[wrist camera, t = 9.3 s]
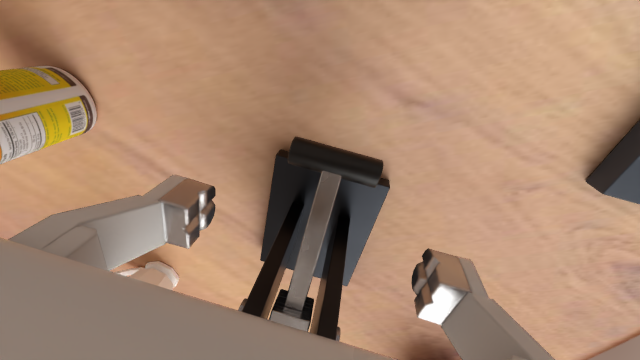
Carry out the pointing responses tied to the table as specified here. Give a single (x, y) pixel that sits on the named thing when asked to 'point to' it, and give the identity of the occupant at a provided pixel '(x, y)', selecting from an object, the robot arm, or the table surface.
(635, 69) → the table surface
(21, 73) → the supplement bottle
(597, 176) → the block
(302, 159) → the lever
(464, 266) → the robot arm
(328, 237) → the bracket
